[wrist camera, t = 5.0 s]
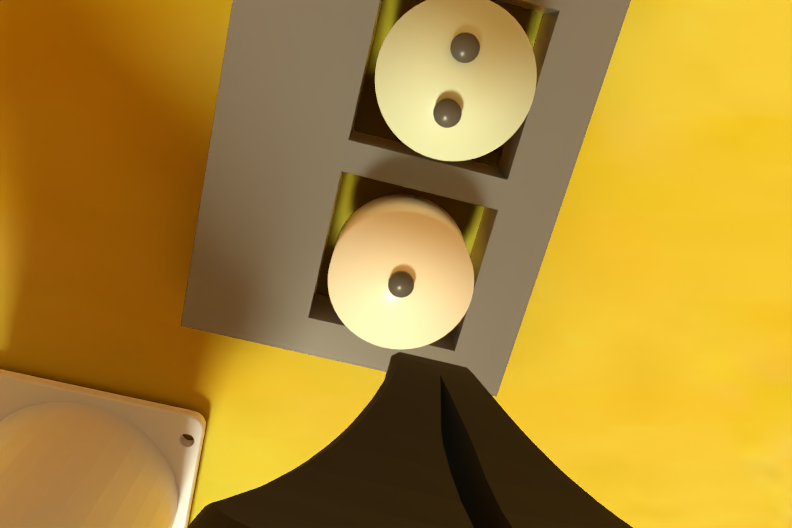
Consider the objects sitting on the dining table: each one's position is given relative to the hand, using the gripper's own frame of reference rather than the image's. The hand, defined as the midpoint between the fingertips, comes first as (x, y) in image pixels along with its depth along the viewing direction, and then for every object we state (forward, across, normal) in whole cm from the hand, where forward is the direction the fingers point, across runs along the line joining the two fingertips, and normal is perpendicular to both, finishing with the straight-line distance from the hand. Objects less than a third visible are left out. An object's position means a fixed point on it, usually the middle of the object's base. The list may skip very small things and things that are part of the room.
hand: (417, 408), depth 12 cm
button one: (+9, 0, 0) cm, 9 cm away
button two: (+9, 0, -5) cm, 10 cm away
